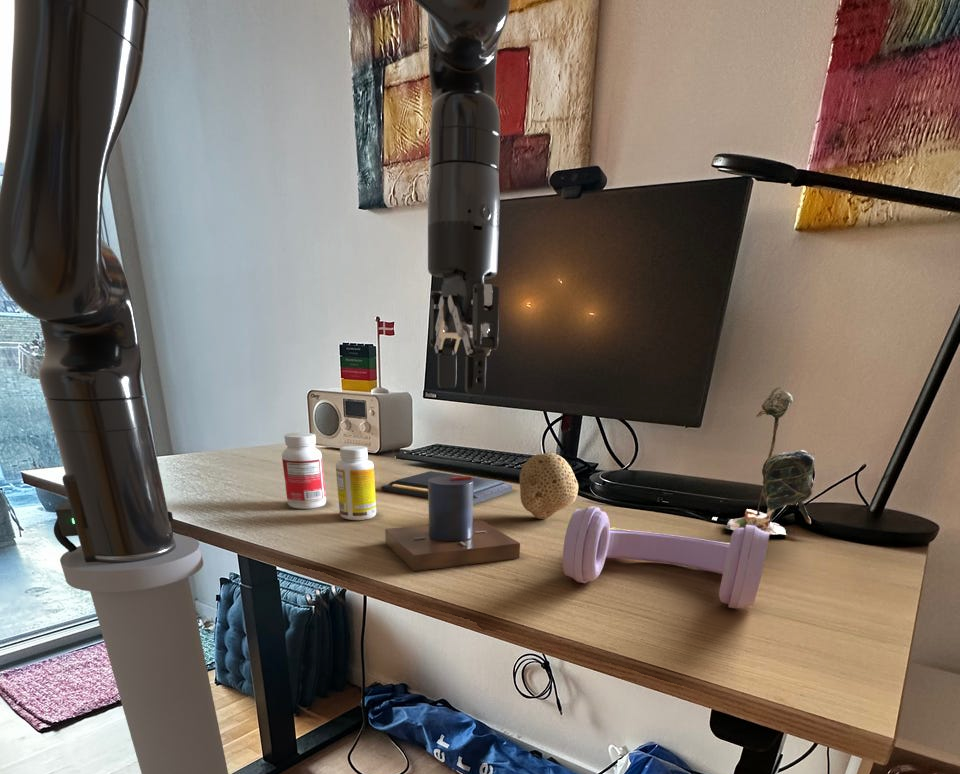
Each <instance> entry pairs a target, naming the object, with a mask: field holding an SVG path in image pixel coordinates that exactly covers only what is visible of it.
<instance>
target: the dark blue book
mask: <svg viewBox="0 0 960 774" xmlns="http://www.w3.org/2000/svg"><path fill="white" fill-rule="evenodd" d="M439 476H460V477H464V476H465V475H462V474H455V473H447V472H439V471H432V470H431V471H426V472H422V473H418V474H413V475H410V476H407V477H403V478H398V479H396V480H392V481H391V482H389V483H388V484H384V485H381V486H380V489H381V491H382V492H388V493H394V494H400V495H407V496H412V497H418V498H426V499H428V480H429V479H430V478H433V477H439ZM471 477H472V480H473V506H475V505H476V504H480V503H483V502H486V501H488V500H491V499H494V498H497V497H499V496H502V495H506V494H508V493H510V492H513V485H511V484H508V483H506V482H503V481H502V480H497V479H491V478H485V477H484V478H482V477H474V476H471Z"/></svg>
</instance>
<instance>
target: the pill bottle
mask: <svg viewBox="0 0 960 774" xmlns="http://www.w3.org/2000/svg"><path fill="white" fill-rule="evenodd" d="M284 443H285V445H286V449H284V450H283V451H282V453H281V460H282V468H283V476H284V485H285V492H286V493H285V494H286V500H287V505H288V506H289V507H290V508H292V509H299V510H311V509H316V508H321V507H323V506H325V505H326V503H327V494H326V484H325V474H324V464H323V455H322V452H321V451H320V449H318V448H316V447H315V446H316V445H317V444H316V443H317V439H316V434H315V433H311V432H291V433H286V434H284Z"/></svg>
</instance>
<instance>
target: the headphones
mask: <svg viewBox="0 0 960 774" xmlns="http://www.w3.org/2000/svg"><path fill="white" fill-rule="evenodd" d="M769 540H770V535H769V533H767V532H764V531H762V530H760V529H758V528H757V527H756V526H752V525H746V528H738V529H736V530H733V531H732V533H731V536H730V540H729V542H723V541H716V540H710V539H704V538H696V537H689V536H683V535H682V536H681V535H675V534H668V533H659V532H658V533H657V532H649V531H641V530H640V531H639V530H632V529H631V530H630V529H626V528H619V527H611V525H610V518H609V516H608V514H607V513H606V511H603V510H601V508H600V507H599V506H588V507H586V508H583V509H576V510H574V511H573V513H572V514H571V517H570V519H569V521H568V524H567V528H566V532H565V536H564V541H563V542H564V543H563V547H562V570H563V573H564V575H565V576H566V577H570V578H571V579H573V580H574V581H575V582H577V583H581V584H587V583H588V582H593V581H595V580H597V578H598V577H599V576H600V574H601V572H602V570H603V568H604V565H605V561H606V559H621V560H623V559H624V560H637V561H647V562H655V563H663V564H670V565H676V566H683V567H687V568H688V567H689V568H694V569H699V570H703V571H708V572H713V573H716V574H721V575H722V576H721V582H720V585H719V591H718V592H719V593H718V597H719V600H720V602H722V603H724V604H727V605H728V608H731V609H740V608H743V607H753V606H755V605H754V604H755V601H756V598H757V594H758V590H759V587H760V582H761V578H762V573H763V571H764V570H763V569H764V565H765V561H766V557H767V556H766V555H767V551H768V545H769Z"/></svg>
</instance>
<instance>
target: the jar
mask: <svg viewBox="0 0 960 774" xmlns="http://www.w3.org/2000/svg"><path fill="white" fill-rule="evenodd" d="M463 476H464V477H460V476H439V477H433V478H430V479H429V480H428V498H427V502H428V503H427V505H428V507H427V508H428V525H429V536H430V537H431V538H432V539H435V540H439V541H449V542H454V541H463V540H467V539H470V538H471V537H472V532H473V521H474V505H473V480H472V477H473V476H471V475H463Z"/></svg>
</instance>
